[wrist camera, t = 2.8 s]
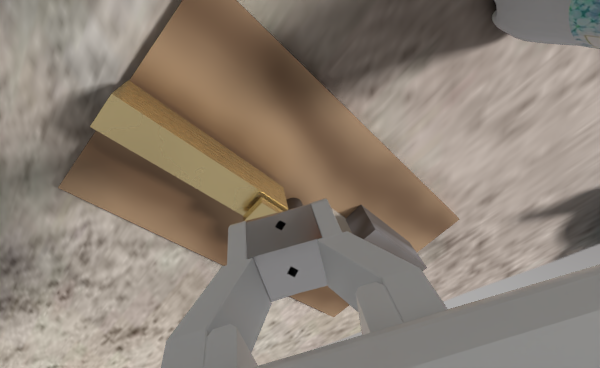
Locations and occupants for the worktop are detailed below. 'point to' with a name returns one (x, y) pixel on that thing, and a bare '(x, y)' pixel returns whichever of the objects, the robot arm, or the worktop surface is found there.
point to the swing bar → (187, 152)
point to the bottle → (551, 21)
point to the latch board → (257, 145)
